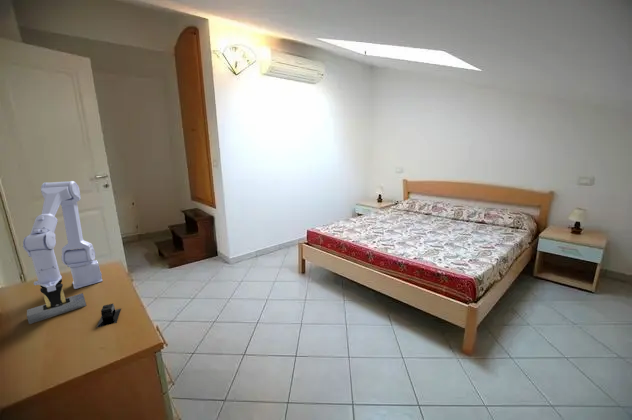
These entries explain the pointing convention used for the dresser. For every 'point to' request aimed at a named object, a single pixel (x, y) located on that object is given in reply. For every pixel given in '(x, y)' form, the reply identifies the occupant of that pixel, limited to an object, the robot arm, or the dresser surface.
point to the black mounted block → (108, 315)
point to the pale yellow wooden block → (49, 301)
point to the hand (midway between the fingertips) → (56, 302)
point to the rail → (55, 308)
